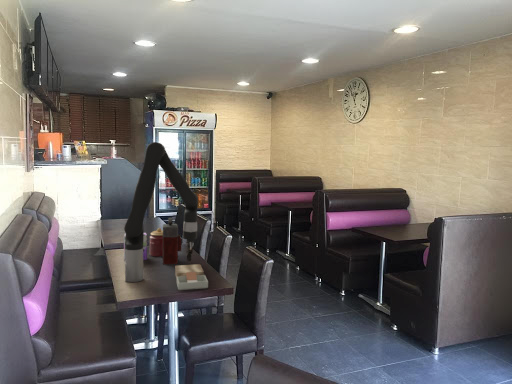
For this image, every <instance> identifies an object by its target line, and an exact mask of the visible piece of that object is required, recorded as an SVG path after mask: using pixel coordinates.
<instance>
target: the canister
mask: <svg viewBox="0 0 512 384" xmlns="http://www.w3.org/2000/svg"><path fill="white" fill-rule="evenodd" d="M148 251H149V256H152V257H163V229H162V228H161V227H158V228H157V230H153V231H152V232H150V235H149V250H148Z"/></svg>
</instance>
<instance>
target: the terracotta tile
mask: <svg viewBox="0 0 512 384" xmlns="http://www.w3.org/2000/svg"><path fill="white" fill-rule="evenodd" d="M186 279H187V280H197V276H196V272H186Z"/></svg>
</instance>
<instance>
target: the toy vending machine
mask: <svg viewBox="0 0 512 384" xmlns="http://www.w3.org/2000/svg"><path fill="white" fill-rule="evenodd" d="M167 219H168V221H167V222H168V223H164V224H162V230H163V256H162V264H163V265H177V264H179V252H182V238H181V234H180V233H179V225H178V224H177V223H173V217H167Z"/></svg>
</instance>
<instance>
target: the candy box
mask: <svg viewBox="0 0 512 384" xmlns="http://www.w3.org/2000/svg"><path fill="white" fill-rule="evenodd" d="M125 242H126V233H124V234H123V259H124V262H125ZM146 260H148V234H147V232H144V241H143V261H146Z"/></svg>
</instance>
